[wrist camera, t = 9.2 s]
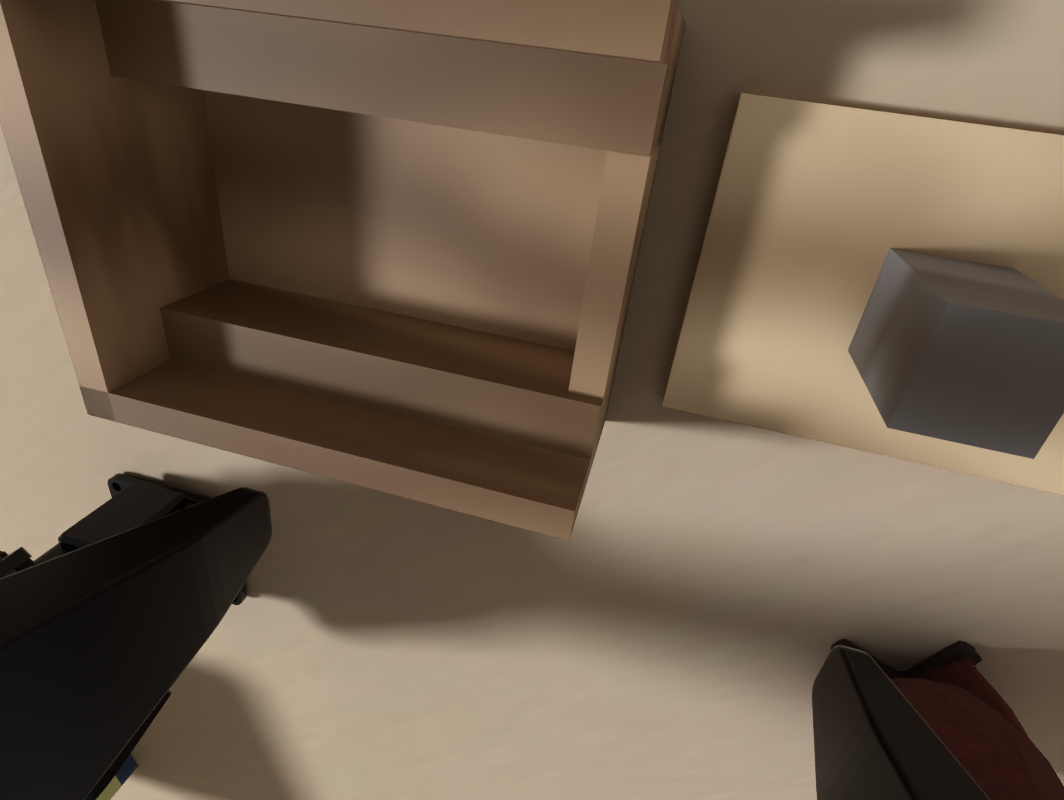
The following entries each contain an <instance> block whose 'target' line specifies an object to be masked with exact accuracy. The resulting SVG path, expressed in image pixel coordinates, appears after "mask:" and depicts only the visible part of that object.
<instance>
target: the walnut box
mask: <svg viewBox="0 0 1064 800" xmlns="http://www.w3.org/2000/svg"><path fill="white" fill-rule="evenodd" d="M684 25H685V21H684V19H683V16H682V13H681V11H680V8H679V6H678V3H677V1H676V0H0V124H1V127H2V131H3V134H4V137H5V141H6V144H7V147H8V151H9V154H10V157H11V161H12V164H13V167H14V171H15V174H16V177H17V180H18V184H19V187H20V190H21V194H22V197H23V200H24V204H25V207H26V210H27V214H28V217H29V220H30V224H31V227H32V230H33V234H34V237H35V240H36V244H37V247H38V250H39V254H40V257H41V260H42V263H43V267H44V270H45V273H46V277H47V280H48V283H49V287H50V290H51V293H52V297H53V300H54V303H55V307H56V310H57V313H58V317H59V320H60V323H61V327H62V330H63V333H64V337H65V340H66V343H67V347H68V350H69V353H70V356H71V360H72V363H73V366H74V370H75V373H76V376H77V380H78V383H79V386H80V390H81V393H82V396H83V400H84V403H85V406H86V410H87V413H88V415H92V416H96V417H100V418H104V419H107V420H111V421H115V422H119V423H123V424H126V425H130V426H134V427H138V428H142V429H146V430H149V431H153V432H157V433H161V434H165V435H168V436H172V437H176V438H180V439H184V440H187V441H191V442H195V443H199V444H203V445H206V446H210V447H214V448H218V449H222V450H225V451H229V452H233V453H237V454H241V455H245V456H248V457H252V458H256V459H260V460H264V461H267V462H271V463H275V464H279V465H283V466H286V467H290V468H294V469H298V470H302V471H305V472H309V473H313V474H317V475H321V476H324V477H328V478H332V479H336V480H340V481H343V482H347V483H351V484H355V485H359V486H363V487H366V488H370V489H374V490H378V491H382V492H385V493H389V494H393V495H397V496H401V497H404V498H408V499H412V500H416V501H420V502H423V503H427V504H431V505H435V506H439V507H442V508H446V509H450V510H454V511H458V512H461V513H465V514H469V515H473V516H477V517H481V518H484V519H488V520H492V521H496V522H500V523H503V524H507V525H511V526H515V527H519V528H522V529H526V530H530V531H534V532H538V533H541V534H545V535H549V536H553V537H557V538H560V539H564V540H568V541H569V540H570V537H571V534H572V530H573V527H574V523H575V520H576V517H577V513H578V510H579V507H580V503H581V500H582V497H583V493H584V490H585V487H586V483H587V480H588V477H589V473H590V470H591V466H592V463H593V460H594V456H595V453H596V450H597V446H598V443H599V440H600V436H601V433H602V430H603V426H604V423H605V419H606V414H607V409H608V404H609V399H610V394H611V389H612V384H613V379H614V374H615V369H616V364H617V359H618V354H619V349H620V344H621V339H622V334H623V329H624V324H625V319H626V314H627V309H628V304H629V299H630V294H631V289H632V284H633V279H634V274H635V269H636V264H637V259H638V254H639V249H640V244H641V239H642V234H643V229H644V224H645V219H646V214H647V209H648V204H649V200H650V195H651V190H652V185H653V180H654V175H655V170H656V165H657V160H658V155H659V150H660V145H661V140H662V135H663V130H664V125H665V120H666V115H667V110H668V105H669V100H670V95H671V90H672V85H673V80H674V75H675V70H676V65H677V60H678V55H679V50H680V45H681V40H682V35H683V30H684Z"/></svg>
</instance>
